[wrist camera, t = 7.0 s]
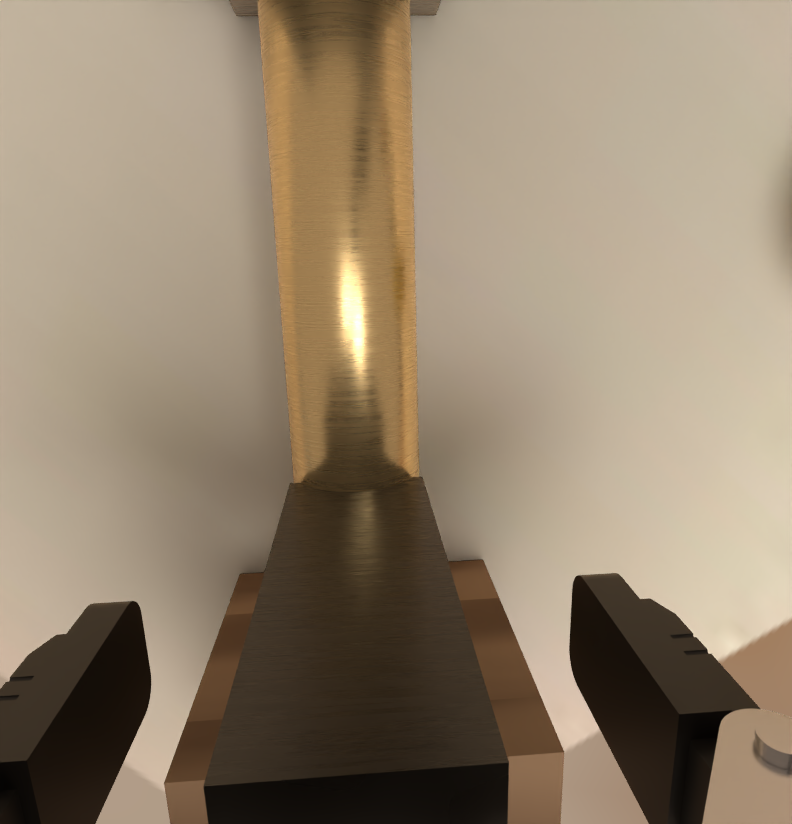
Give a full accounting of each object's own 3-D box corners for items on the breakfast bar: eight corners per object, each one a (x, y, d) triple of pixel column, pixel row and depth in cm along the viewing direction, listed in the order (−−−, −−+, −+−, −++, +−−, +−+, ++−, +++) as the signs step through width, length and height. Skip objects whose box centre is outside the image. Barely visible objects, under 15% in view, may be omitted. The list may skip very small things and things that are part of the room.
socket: (239, 574, 19) (164, 783, 12) (483, 559, 20) (564, 752, 12) (252, 691, 21) (190, 952, 13) (482, 675, 21) (555, 918, 13)
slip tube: (247, -199, 12) (-237, -2258, 2) (403, -197, 12) (601, -2080, 2) (314, 704, 18) (262, 1281, 8) (421, 697, 18) (504, 1250, 8)
